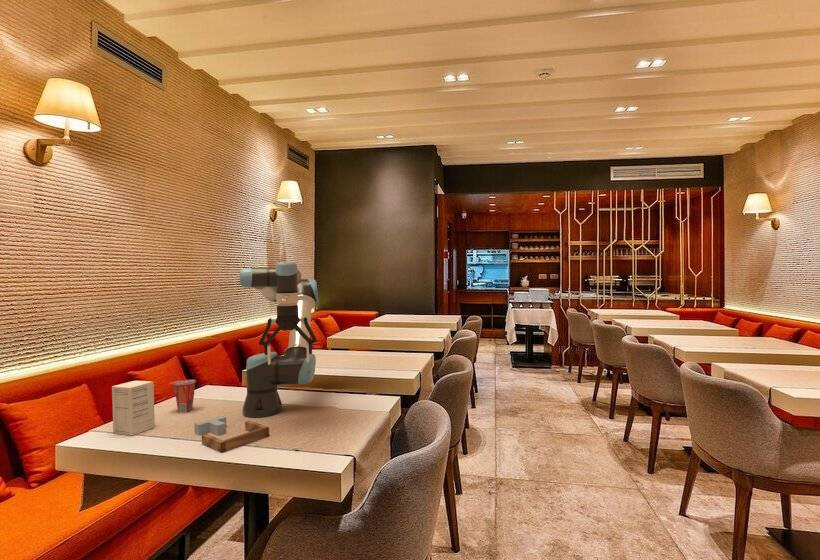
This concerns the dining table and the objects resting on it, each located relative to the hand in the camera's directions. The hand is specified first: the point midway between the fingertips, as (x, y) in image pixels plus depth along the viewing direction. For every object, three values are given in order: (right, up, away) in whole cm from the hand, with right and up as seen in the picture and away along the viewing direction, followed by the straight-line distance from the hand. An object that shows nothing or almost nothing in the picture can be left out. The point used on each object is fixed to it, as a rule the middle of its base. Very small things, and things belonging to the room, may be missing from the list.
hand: (288, 362), depth 154 cm
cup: (-49, -24, +19) cm, 57 cm away
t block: (-24, -23, -5) cm, 34 cm away
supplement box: (-55, -24, -2) cm, 60 cm away
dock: (-14, -23, -13) cm, 30 cm away
